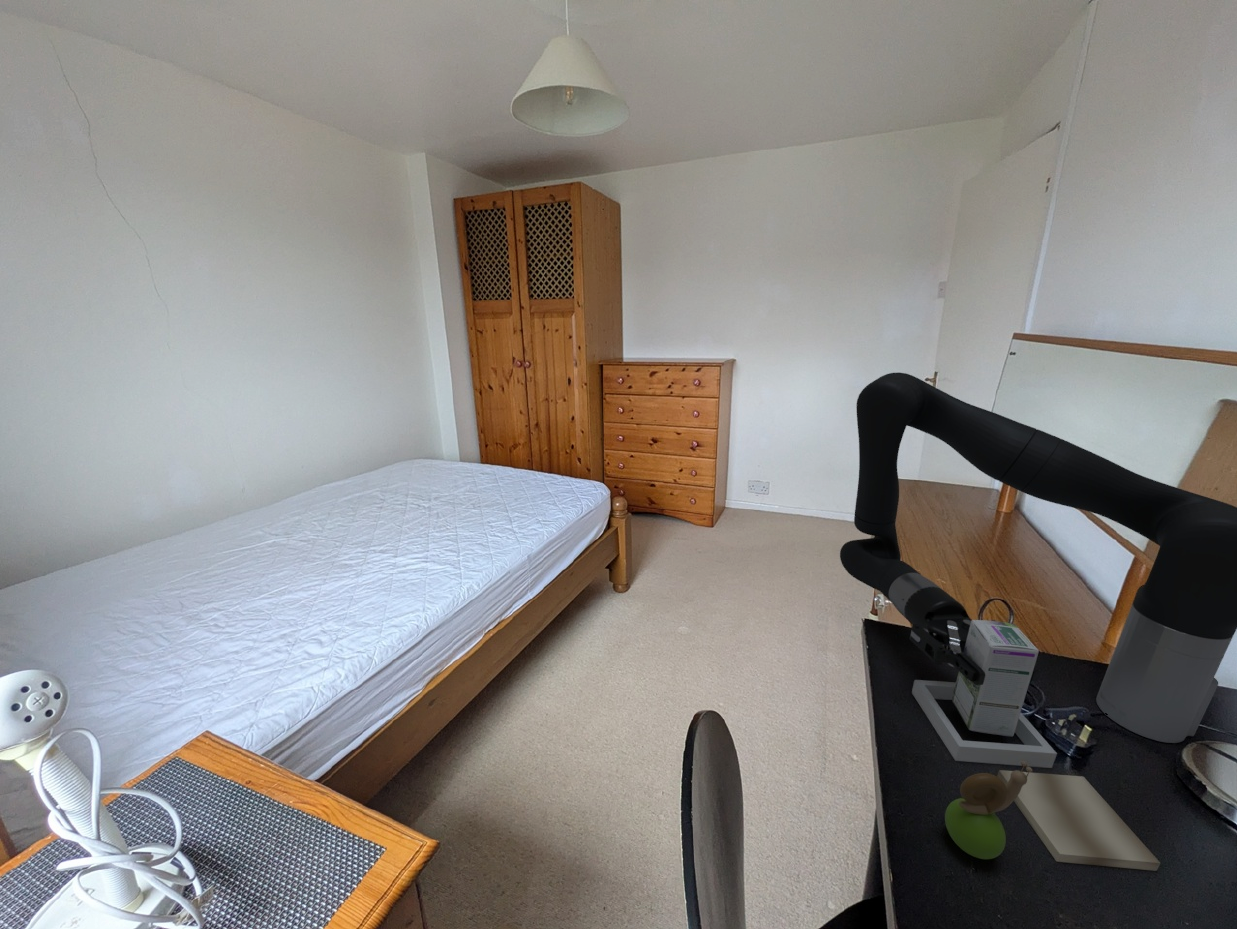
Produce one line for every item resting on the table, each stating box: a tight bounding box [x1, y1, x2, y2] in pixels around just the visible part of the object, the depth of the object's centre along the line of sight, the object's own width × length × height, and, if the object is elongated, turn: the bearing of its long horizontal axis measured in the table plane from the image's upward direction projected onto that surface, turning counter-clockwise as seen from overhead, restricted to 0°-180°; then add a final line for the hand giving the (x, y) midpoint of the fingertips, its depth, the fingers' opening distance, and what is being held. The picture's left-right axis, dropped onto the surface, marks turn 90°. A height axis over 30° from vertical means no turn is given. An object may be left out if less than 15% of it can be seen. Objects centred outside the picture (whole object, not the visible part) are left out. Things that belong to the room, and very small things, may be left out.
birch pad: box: [996, 769, 1161, 872], centre depth 57 cm, size 10×10×1 cm
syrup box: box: [951, 619, 1040, 737], centre depth 66 cm, size 6×6×14 cm
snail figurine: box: [944, 761, 1033, 860], centre depth 52 cm, size 5×6×12 cm
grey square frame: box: [911, 679, 1058, 769], centre depth 69 cm, size 12×12×2 cm
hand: (1008, 678), depth 64 cm, fingers closed on syrup box, 7 cm apart
